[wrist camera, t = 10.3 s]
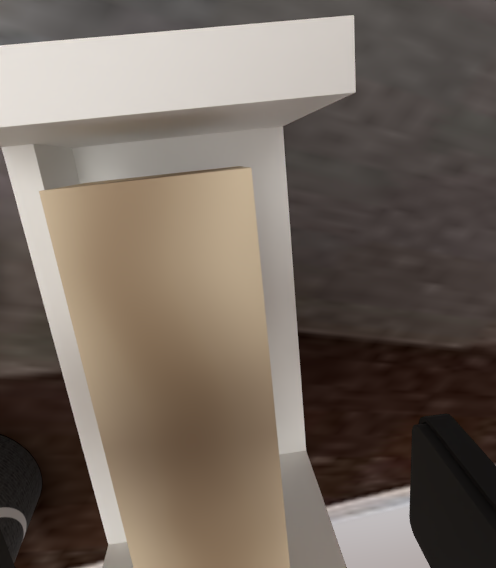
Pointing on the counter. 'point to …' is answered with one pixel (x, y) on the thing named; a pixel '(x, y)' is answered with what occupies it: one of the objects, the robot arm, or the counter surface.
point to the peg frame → (174, 159)
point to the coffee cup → (17, 492)
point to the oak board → (177, 361)
